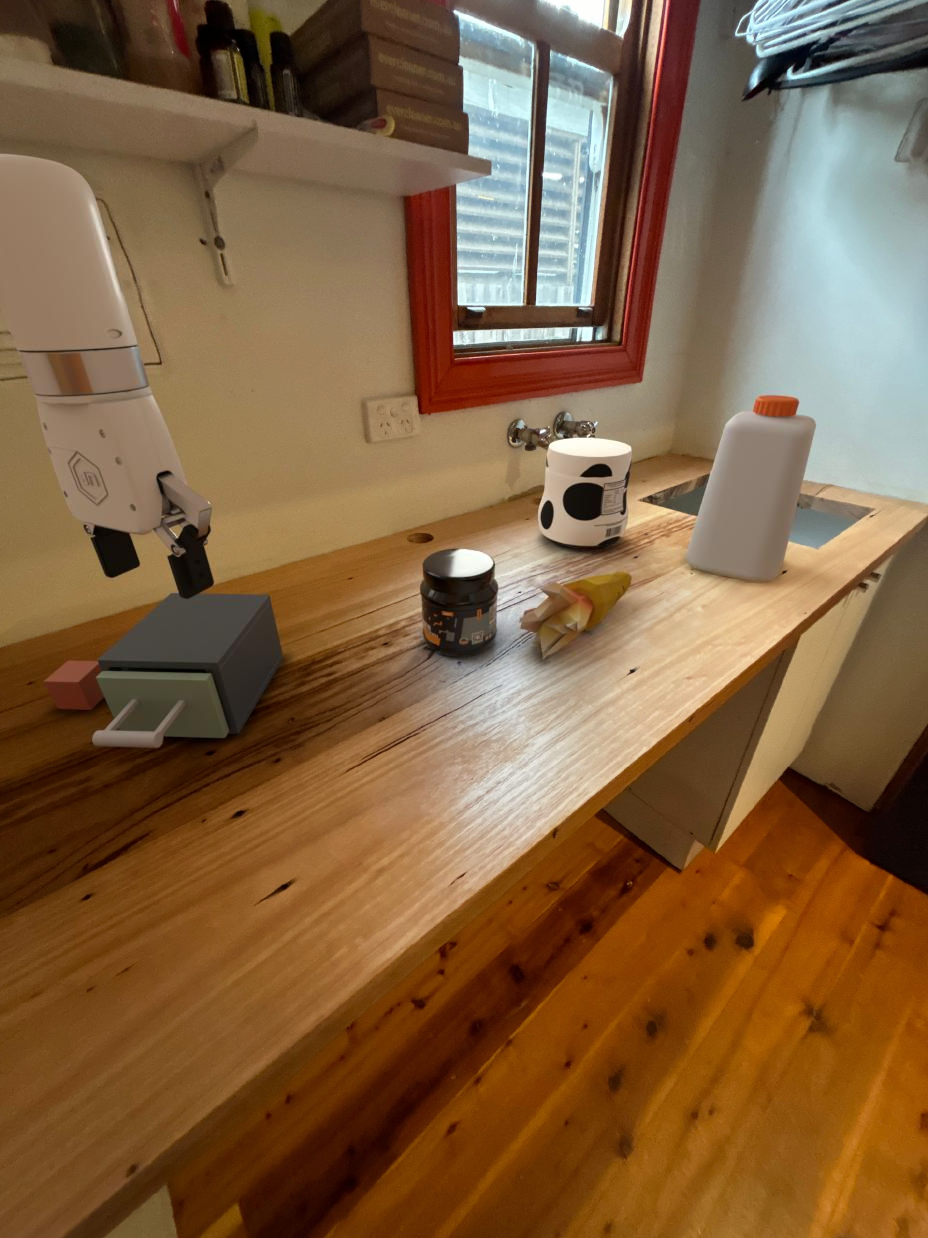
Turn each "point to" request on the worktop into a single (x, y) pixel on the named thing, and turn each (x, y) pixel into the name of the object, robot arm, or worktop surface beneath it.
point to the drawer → (160, 706)
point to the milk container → (585, 492)
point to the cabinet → (208, 645)
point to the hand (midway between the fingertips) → (159, 581)
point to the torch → (573, 609)
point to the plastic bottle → (753, 492)
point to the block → (75, 685)
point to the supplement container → (459, 601)
